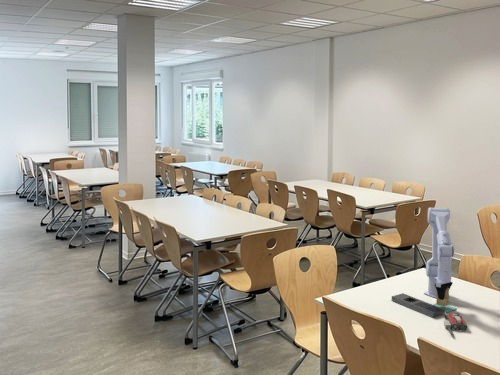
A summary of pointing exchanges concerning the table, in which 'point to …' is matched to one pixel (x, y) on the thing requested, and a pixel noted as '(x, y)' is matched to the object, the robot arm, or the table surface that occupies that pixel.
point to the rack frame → (418, 305)
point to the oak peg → (445, 300)
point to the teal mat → (446, 308)
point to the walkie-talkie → (454, 323)
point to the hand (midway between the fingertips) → (442, 298)
